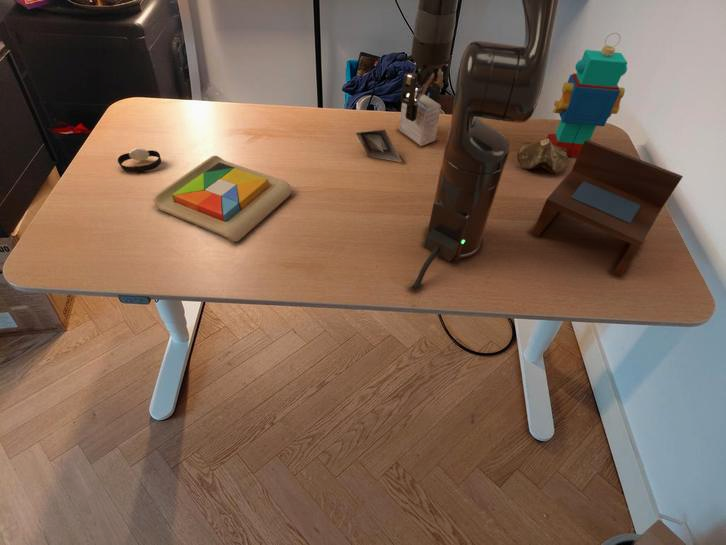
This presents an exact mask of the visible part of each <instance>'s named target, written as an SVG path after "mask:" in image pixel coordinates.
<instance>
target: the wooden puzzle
mask: <svg viewBox="0 0 726 545" xmlns="http://www.w3.org/2000/svg"><path fill="white" fill-rule="evenodd" d="M291 194H292V186H291V184H290V183H289V182H287V180H284V179H281V178H278V177H274V176H272V175H268V174H266V173H263V172H261V171H260V172H259V171H256V170H254V169H251V168H247V167H244V166H241V165H238V164H235V163H233V162H230V161H226V160H225V159H223V158H222V157H221V156H219V155H212V156H210V157H209V158H207V159H206V160H204V161H202V162H201V163H199V164H198V165H197V166H195V167H194V168H193V169H191V170H190V171H188V172H187V173H185V174H183V175H182V176H181V177H179V178H178V179H176V180H175V181H174V182H172V183H171V184H170V185H168V186H166V187H165V188H163V189H162V190H161V191H159V192H157V193H156V194H155V195H154V197H153V203H154V206H155V208H157V209H158V210H160V211H161V212H163V213H167V214H169V215H172V216H174V217H176V218H178V219H181V220H183V221H186V222H188V223H191V224H194V225H196V226H199V227H201V228H203V229H206V230H209V231H211V232H213V233H216V234H217V235H220V236H223V237H224V238H226V239H227V240H228V241H231V242H239V241H241V239H242V238H243V237H245V236H246V235H247V234H248V233H250V232H251V231H252V230H253V229H254V228H255V227H257V225H259V224H260V223H261V222H262V221H263V220H265V219H266V217H267V216H269V215H270V214H271V213H272V212H273V211H275V209H276V208H278V207H279V206H280V205H281V204H282V203H283V202H284V201H286V200H287V199H288V197H290V196H291Z"/></svg>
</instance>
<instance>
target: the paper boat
mask: <svg viewBox="0 0 726 545" xmlns="http://www.w3.org/2000/svg"><path fill="white" fill-rule="evenodd" d="M355 134H356V136H357V139H358V140H359V142H360V144H361V145H362V147H363V149H364V151H365V152H366V155H367V156H368V157H371V158H375V159H376V158H377V159H382V160H387V161H393V162H399V163H403V160H402V159H401V156H400V154H399V153H398V151H397V149H396V147H395V145H394V144H393V142H392V139H391V137H390V136H389V133H388V131H387V130H386V129H373V130H360V131H357V132H355Z"/></svg>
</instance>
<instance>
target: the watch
mask: <svg viewBox="0 0 726 545" xmlns="http://www.w3.org/2000/svg"><path fill="white" fill-rule="evenodd" d="M149 157H154V158H157V159H156V160H155V161H153V162H152V163H149V164H144V165H134V166H127V165H123V163H124V162H126V161H128V160H134V161H139V162H141V161H142V162H143V161H146V160H147V159H148V158H149ZM117 163H118V164H119V167H120V168H121V169H122V170H123V171H125V172H127V173H135V174H136V173H137V174H140V173H145V172H149V171H152V170H154V169H156V168H158V167H159V166H160V165H161V164H162V157H161V154H160V152H158V151H157V150H153V149H152V150H147V149H146V148H143V147H135V148H133V149H131V150H130V152H127V153H124V154H121V155H119V157H118V158H117Z"/></svg>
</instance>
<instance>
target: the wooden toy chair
mask: <svg viewBox="0 0 726 545" xmlns="http://www.w3.org/2000/svg"><path fill="white" fill-rule="evenodd" d="M571 168H572V169H571V170H570V171H569V172H568V174H566V176H565V177H564V178H563V179H562V181H560V183H559V184H558V185H557V186H556V187H555V189H554V190H553V191H552V192H551V193H550V195H549V196H548V197H547V198H546V200H545V202H544V205H543V207H542V209H541V212H540V214H539V215H538V219H537V221H536V224H535V226H534V228H533V231H532V235H534V236H536V237H539V236H540V235H541V234H542V233H543V231H545V229H546V228H547V227H548V225H549V224H550V223H551V221H553V219H554V218H555V216H556V215H557V214H558V213H559V212H561V213H563V214H565V215H567V216H569V217H571V218H574V219H577V220H578V221H580V222H582V223H585V224H587V225H589V226H591V227H593V228H595V229H598V230H600V231H602V232H605V233H606V234H609V235H611V236H613V237H615V238H618V239H619V240H622V241H624V242H627V243H628V244H629V245H628V247H627V249H626V250H625V252H624V254H623V255H622V257H621V259H620V261H619V262H618V264H617V265H616V267H615V269H614V271H613V273H612V274H614V275H616V276H618V277H621V276H622V275H623V273H624V272H625V270H626V269H627V267H628V265H629V264H630V262H631V261H632V260H633V258H634V257H635V255H636V253H637V252H638V250H639V249H640V247H641V246H642V244H643V243H644V241H645V239H646V237H647V236H648V234H649V233H650V231H651V229H652V228H653V225H654V223H655V222H656V220H657V218H658V217H659V214H660V212H661V211H662V210H663V208H664V206H665V204H666V203H667V202H668V200H669V198H670V197H671V196H672V194H673V192H674V191H675V190H676V188H677V186H678V185H679V184H680V182H681V181H682V179H683V177H684V176H683V175H682V174H679V173H676V172H673V171H671V170H669V169H666V168H662V167H660V166H658V165H655V164H653V163H650V162H647V161H645V160H642V159H640V158H637V157H634V156H631V155H630V154H628V153H624V152H621V151H619V150H616V149H613V148H611V147H608V146H606V145H603V144H601V143H598V142H596V141H592V140H591V139H590V140H587V139H586V140H585V141H584V143H583V146H582V148H581V150H580V152H579V155H578V157H576V159H575V162H574V163H573V166H572V167H571Z"/></svg>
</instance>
